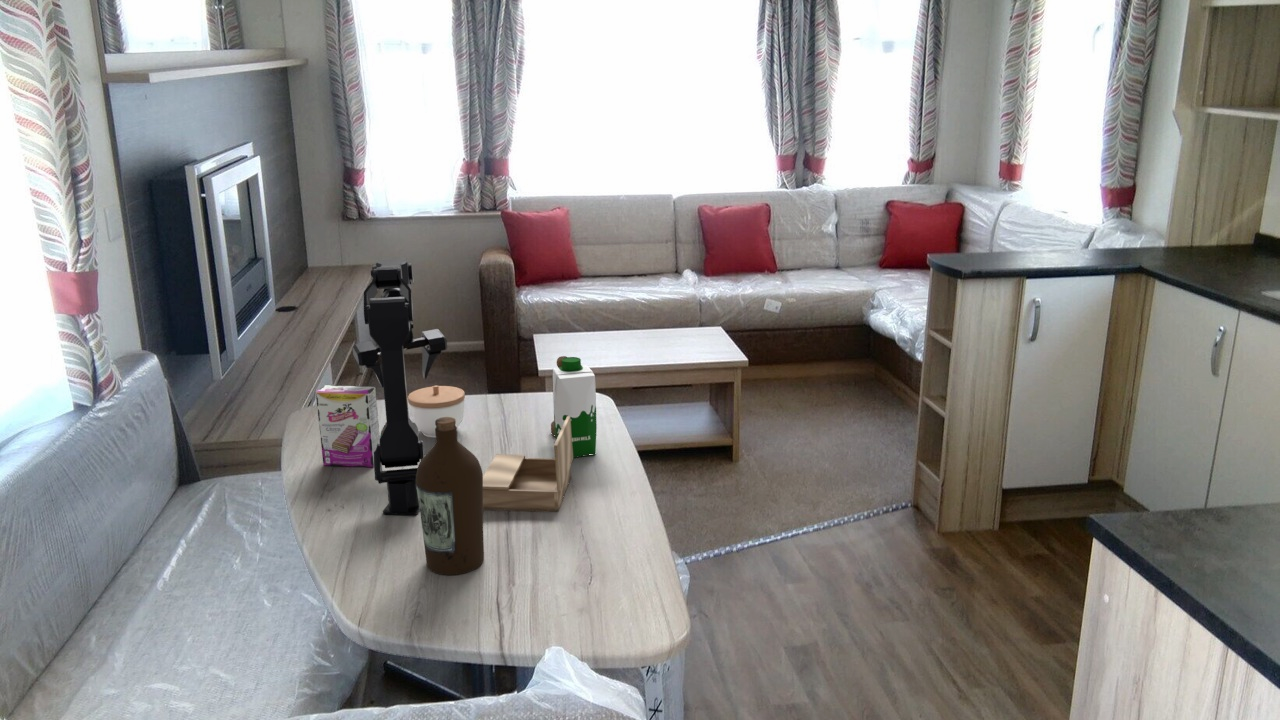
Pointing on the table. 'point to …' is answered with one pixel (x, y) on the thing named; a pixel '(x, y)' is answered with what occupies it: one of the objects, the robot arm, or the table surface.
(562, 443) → the flap
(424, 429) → the lidded bowl
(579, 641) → the table surface
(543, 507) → the wooden box
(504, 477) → the flap
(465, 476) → the olive oil
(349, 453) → the candy bar box
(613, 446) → the table surface
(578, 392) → the milk carton
